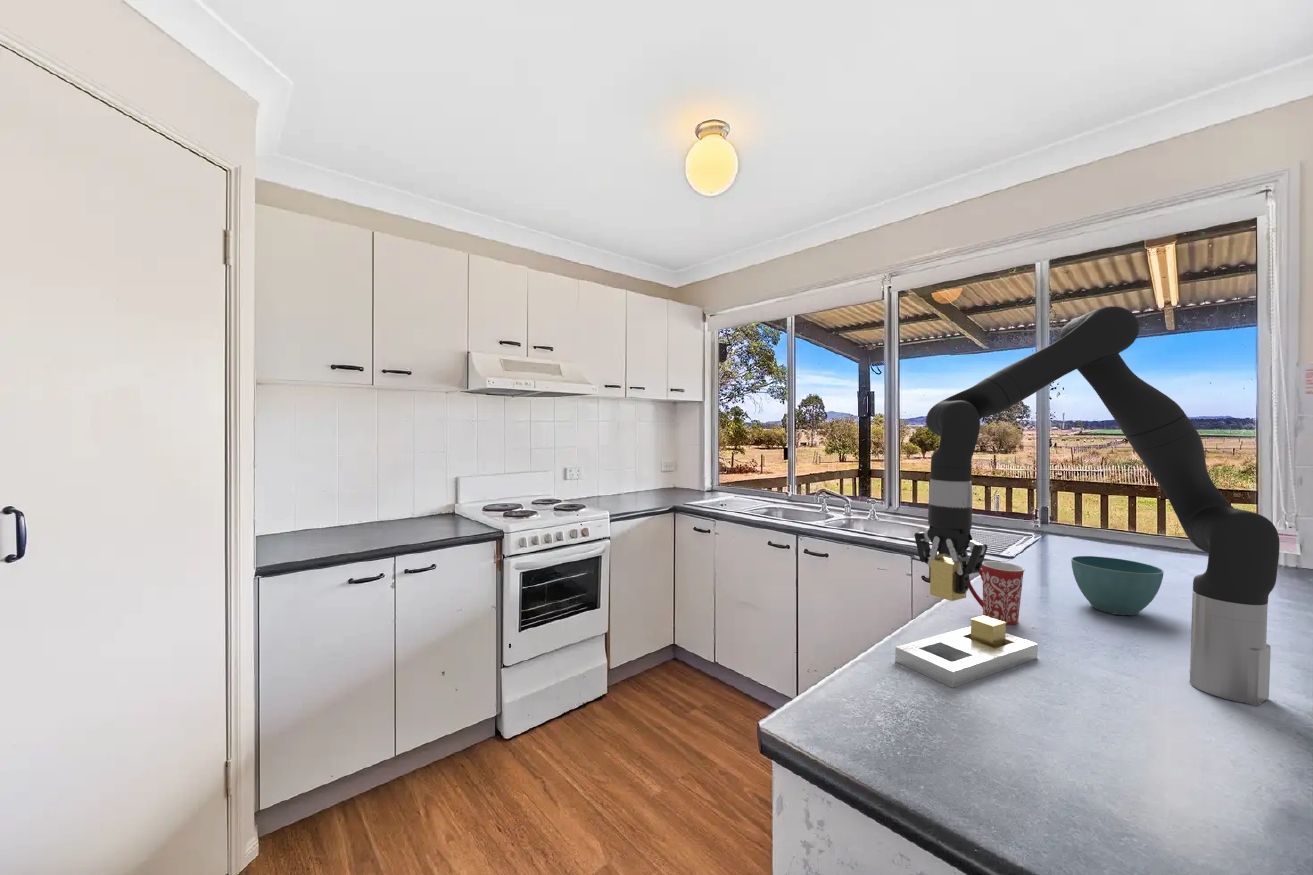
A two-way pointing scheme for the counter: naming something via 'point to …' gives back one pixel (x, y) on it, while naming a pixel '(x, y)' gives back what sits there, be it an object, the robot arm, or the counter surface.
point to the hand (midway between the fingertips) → (947, 589)
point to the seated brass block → (988, 631)
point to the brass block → (944, 579)
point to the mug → (1000, 590)
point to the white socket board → (963, 656)
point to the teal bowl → (1116, 583)
